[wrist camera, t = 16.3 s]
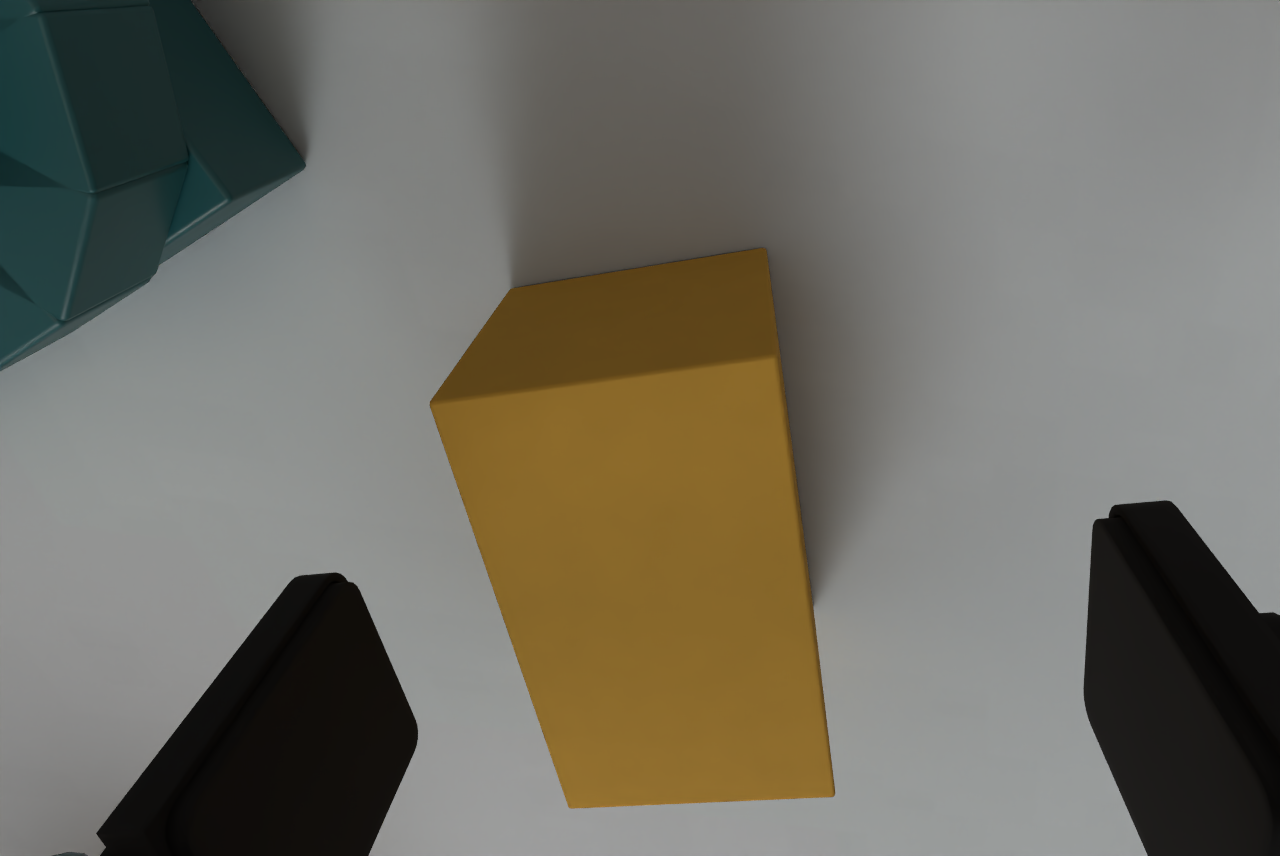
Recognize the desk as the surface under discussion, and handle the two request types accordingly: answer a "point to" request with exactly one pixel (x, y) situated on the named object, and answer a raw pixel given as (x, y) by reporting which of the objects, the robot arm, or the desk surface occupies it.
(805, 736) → the sponge
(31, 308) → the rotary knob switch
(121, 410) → the desk surface
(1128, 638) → the robot arm
